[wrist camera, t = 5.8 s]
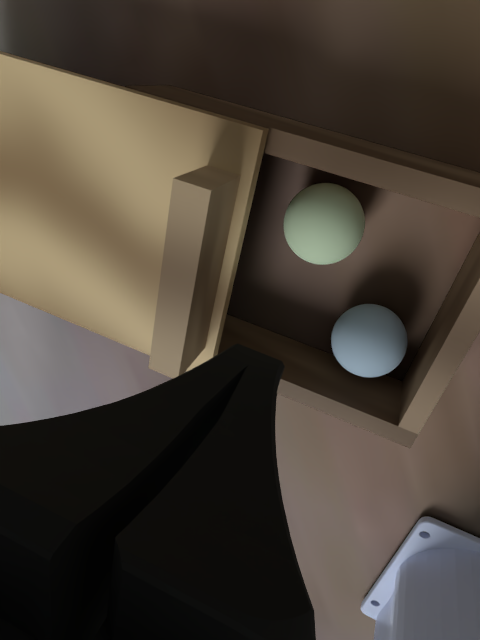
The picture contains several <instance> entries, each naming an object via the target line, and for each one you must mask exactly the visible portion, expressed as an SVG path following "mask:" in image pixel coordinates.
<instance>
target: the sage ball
mask: <svg viewBox="0 0 480 640" xmlns="http://www.w3.org/2000/svg"><path fill="white" fill-rule="evenodd" d="M364 227H365V217H364V212H363V209H362V206H361V204H360V202H359V201H358V199H357V198H356V197H355V195H354V194H353V193H352V192H350V191H349V190H348V189H346V188H344V187H342V186H340V185H337V184H333V183H319V184H315V185H311V186H309V187H307V188H305V189H304V190H302V191H300V192H299V193H298V194H297V195H296V196H295V197H294V198H293V200H292V201H291V202H290V204H289V206H288V208H287V210H286V213H285V217H284V233H285V237H286V240H287V243H288V245H289V246H290V248H291V249H292V250H293V252H294V253H295V254H296V255H297V256H299V257H300V258H302V259H303V260H305V261H307V262H310V263H313V264H322V265H324V264H332V263H335V262H338V261H340V260H342V259H344V258H346V257H347V256H348V255H350V254H351V253H352V252H353V251H354V250H355V248H356V247H357V246H358V244H359V243H360V241H361V238H362V236H363V232H364Z"/></svg>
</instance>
